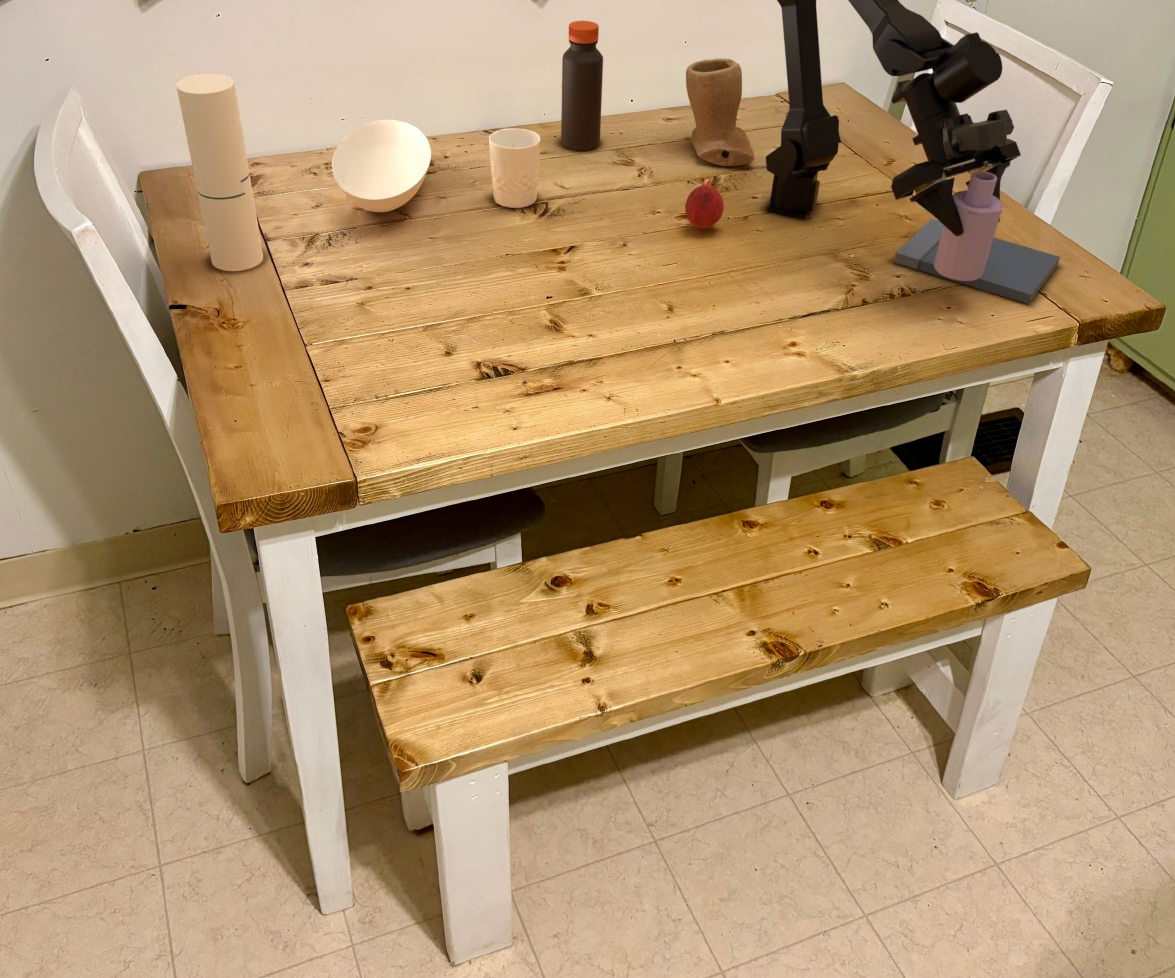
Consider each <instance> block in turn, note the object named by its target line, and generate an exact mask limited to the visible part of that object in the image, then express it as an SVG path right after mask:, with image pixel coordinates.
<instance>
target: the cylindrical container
mask: <svg viewBox="0 0 1175 978" xmlns="http://www.w3.org/2000/svg"><path fill="white" fill-rule="evenodd" d="M175 86H176V91H177V96H178V101H179V105H180V111H181V115H182V121H183V125H184V132H185V136H186V142H187V146H188V151H189V156H190V161H191V162H190V163H191V166H192V172H193V176H194V180H195V187H196V192H197V196H198V201H199V206H200V211H201V216H202V221H203V226H204V230H205V236H206V241H207V246H208V250H209V256H210V261H211V264H212V266H213V267H214V268H216V269H218V270H221V271H226V272H240V271H241V272H242V271H246V270H250V269H253V268H255V267H257V266H259V265H260V264H261V263H262V262H263V260H264V252H263V246H262V241H261V235H260V229H259V222H258V217H257V211H256V210H257V209H256V205H255V199H254V194H253V193H254V192H253V186H252V180H251V174H250V168H249V162H248V157H247V151H246V150H247V149H246V145H245V139H244V132H243V125H242V121H241V114H240V108H239V102H238V97H237V92H236V85H235V80H234V79H233V78H232V77H230V76H228V75H225V74H219V73H200V74H194V75H190V76H186V77H183V78H181V79H180V80H178V81H177V82H176V85H175Z"/></svg>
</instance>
